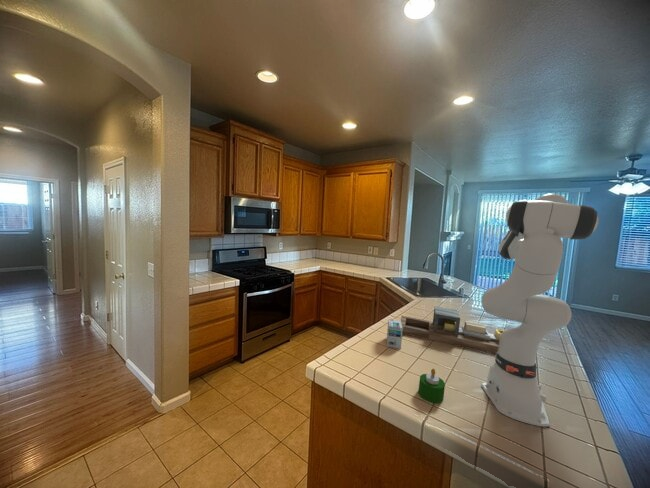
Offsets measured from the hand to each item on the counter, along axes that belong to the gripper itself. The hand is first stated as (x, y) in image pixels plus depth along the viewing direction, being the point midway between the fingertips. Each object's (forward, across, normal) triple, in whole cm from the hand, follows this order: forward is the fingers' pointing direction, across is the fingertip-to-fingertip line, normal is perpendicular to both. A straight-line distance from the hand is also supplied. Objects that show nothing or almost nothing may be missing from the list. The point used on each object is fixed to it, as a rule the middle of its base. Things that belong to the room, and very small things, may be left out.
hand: (525, 295), depth 122 cm
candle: (+31, -51, +40) cm, 72 cm away
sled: (+27, +8, +17) cm, 33 cm away
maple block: (+27, +8, +18) cm, 33 cm away
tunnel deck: (+31, +8, +29) cm, 43 cm away
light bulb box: (+31, -16, +57) cm, 67 cm away
